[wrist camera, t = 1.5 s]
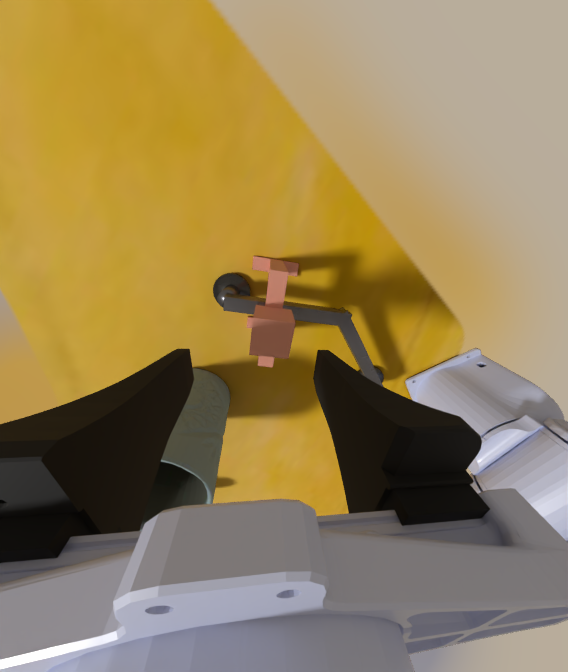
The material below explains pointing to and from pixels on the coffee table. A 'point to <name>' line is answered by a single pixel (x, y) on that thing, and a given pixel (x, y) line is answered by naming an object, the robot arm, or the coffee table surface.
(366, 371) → the wheeled bent frame
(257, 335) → the pink blocky toy figure
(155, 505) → the green tapered cup
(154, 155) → the coffee table surface
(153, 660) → the robot arm
